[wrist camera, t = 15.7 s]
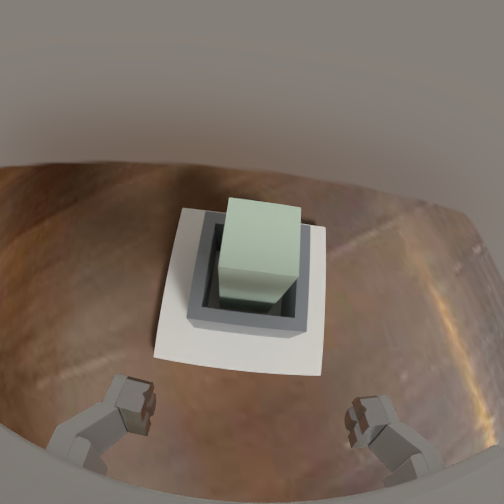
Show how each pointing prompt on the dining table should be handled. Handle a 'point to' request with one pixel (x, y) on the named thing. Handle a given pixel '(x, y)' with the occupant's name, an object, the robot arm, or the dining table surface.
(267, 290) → the sage block
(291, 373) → the well stand
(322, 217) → the dining table surface
